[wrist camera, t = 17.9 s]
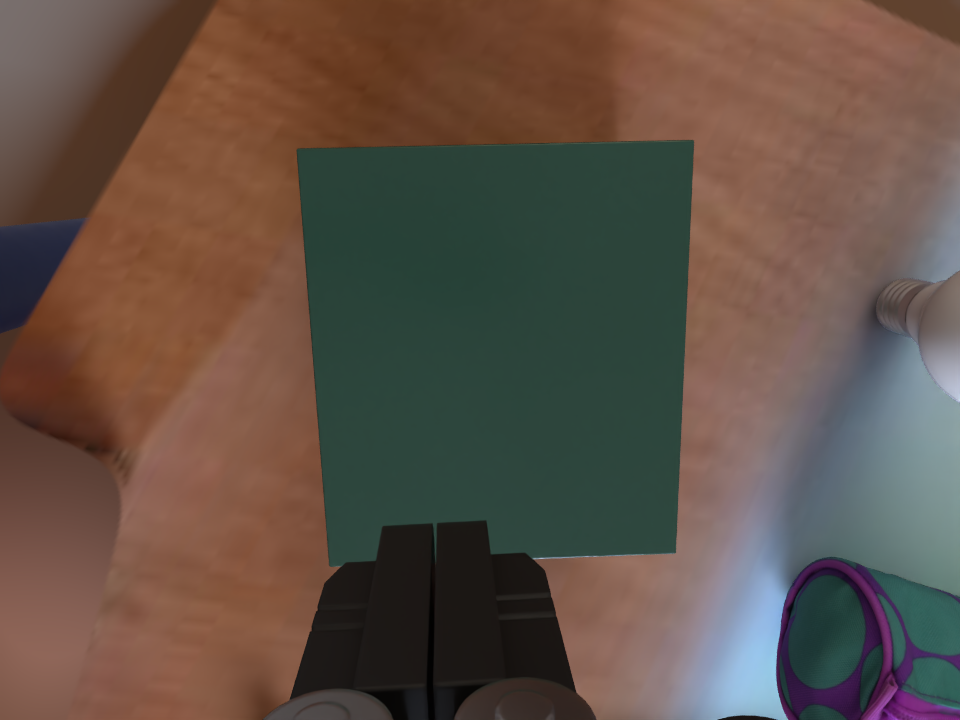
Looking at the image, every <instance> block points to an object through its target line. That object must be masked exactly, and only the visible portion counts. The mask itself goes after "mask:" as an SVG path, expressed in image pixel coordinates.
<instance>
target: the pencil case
mask: <svg viewBox="0 0 960 720" xmlns="http://www.w3.org/2000/svg"><path fill="white" fill-rule="evenodd" d="M776 677H777V687H778V693H779V697H780V701H781V704H782V707H783V710H784V712H785V714H786V716H787V718H788V720H960V597H958V596H955V595H953V594H950V593H948V592H945V591H941V590H938V589H934V588H931V587H927V586H924V585H921V584H918V583H915V582H912V581H909V580H906V579H903V578H901V577H898V576H896V575H893V574H886V573H883V572H880V571H877V570H874V569H870V568H867V567H864V566H862V565H860V564H857V563H855V562H852V561H849V560H846V559H842V558H837V557H827V558H822V559H818V560H816V561H814V562H812V563H811V564H809V565H808V566H807V567H806V568H805V569H804V570H803V571H802V572H801V573H800V574H799V575H798V577H797V578H796V579H795V581H794V582H793V584H792V586H791V587H790V589H789V591H788V594H787V597H786V600H785V603H784V607H783V613H782V620H781V631H780V637H779V643H778V649H777V666H776Z"/></svg>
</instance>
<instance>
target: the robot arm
mask: <svg viewBox="0 0 960 720" xmlns="http://www.w3.org/2000/svg"><path fill="white" fill-rule="evenodd" d="M263 720H596V717H595V715H594V713H593V711H592V709H591V708H590V706H589V705H588V704H587V703H586V701H585V700H584V699H583V698H582V697H580V696H579V695H578V694H577V693H576V690H575V686H574V682H573V678H572V674H571V670H570V666H569V662H568V659H567V655H566V651H565V647H564V643H563V639H562V635H561V631H560V627H559V624H558V620H557V617H556V612H555V608H554V604H553V600H552V598H551V592H550V589H549V585H548V581H547V577H546V573H545V570H544V569H543V568H542V567H540V566H539V565H538V564H537V563H536V562H535V561H534V560H533V559H532V558H531V557H530V556H529V555H528V554H526V553H525V552H524V553H506V554H491V551H490V543H489V535H488V527H487V520H481V521H462V522H443V523H437V542H436V561H435V543H434V528H433V523H428V524H409V525H390V526H383V527H382V530H381V536H380V541H379V547H378V552H377V558H376V561H363V562H346V563H345V564H344V565H343V566H341V567H340V568H339V569H338V570H337V571H336V572H335V573H334V574H333V575H332V576H331V577H330V578H329V579H328V580H327V581H326V582H325V584H324V587H323V590H322V594H321V597H320V600H319V604H318V611H316V614H315V617H314V620H313V624H312V632H310V634H309V637H308V640H307V644H306V647H305V650H304V654H303V657H302V660H301V664H300V667H299V670H298V674H297V677H296V680H295V684H294V687H293V690H292V694H291V697H290V700H289V701H288V702H286V703H284V704H282V705H280V706H279V707H277V708H276V709H275V710H273V711H272V712H270V713H269V714H268V715H267V716H266V717H265V718H264V719H263ZM718 720H776V719H772V718H767V717H760V716H745V715H741V716H731V717H726V718H722V719H718Z"/></svg>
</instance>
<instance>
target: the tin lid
mask: <svg viewBox="0 0 960 720" xmlns="http://www.w3.org/2000/svg"><path fill="white" fill-rule="evenodd" d="M693 154H694V140H667V141H621V142H576V143H530V144H484V145H438V146H392V147H346V148H300V149H297V162H298V174H299V187H300V200H301V212H302V225H303V238H304V251H305V263H306V276H307V289H308V301H309V314H310V327H311V340H312V352H313V365H314V378H315V390H316V403H317V416H318V429H319V441H320V454H321V467H322V479H323V492H324V505H325V518H326V530H327V543H328V556H329V566H330V567H335V566H343V565H344V564H345V563H346V562H363V561H376V558H377V552H378V547H379V541H380V536H381V530H382V527H383V526H390V525H409V524H428V523H433V528H434V543H435V561H436V542H437V523H443V522H462V521H481V520H487V527H488V535H489V543H490V551H491V554H506V553H524V552H525V553H526V554H528V555H529V556H530V557H531V558H532V559H546V558H572V557H598V556H624V555H651V554H675V553H676V536H677V514H678V491H679V469H680V446H681V424H682V401H683V379H684V356H685V334H686V311H687V289H688V266H689V244H690V221H691V199H692V176H693Z"/></svg>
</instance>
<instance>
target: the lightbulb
mask: <svg viewBox="0 0 960 720" xmlns="http://www.w3.org/2000/svg"><path fill="white" fill-rule="evenodd" d="M876 313H877V317H878V320H879V322H880V323H881V324H882V326H883V327H885V328H886V329H887V330H889V331H891V332H894V333H897V334H900V335H903V336H906V337H909V338H912V339H913V341H914V342H915V343H916V344H917V345H918V346H919V351H920V355H921V358H922V361H923V363H924V366H925V368H926V370H927V372H928V373H929V375H930V376H931V378H932V379H933V380H934V382H935V383H936V384H937V385H938V386H939V387H940V388H941V389H942V390H943V391H944V392H945V393H946V394H947V395H948V396H950V397H951V398H952V399H954V400H955V401H957V402H958V403H960V270H959V271H958V272H956V273H955V274H953V275H952V276H951V277H949V278H948V279H947V280H943V281H939V282H936V283H933V282H928V281H924V280H919V279H914V278H902V279H898V280H896V281H894V282H892V283H890V284H889V285H888V286H887V287H886V288H885V289H884V290H883V291H882V292H881V294H880V296H879V298H878V301H877V305H876Z"/></svg>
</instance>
